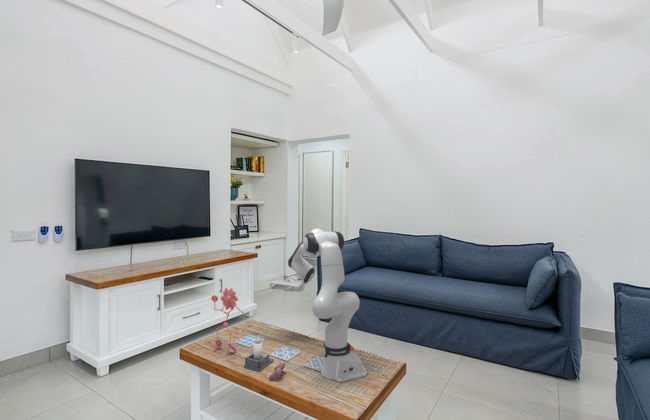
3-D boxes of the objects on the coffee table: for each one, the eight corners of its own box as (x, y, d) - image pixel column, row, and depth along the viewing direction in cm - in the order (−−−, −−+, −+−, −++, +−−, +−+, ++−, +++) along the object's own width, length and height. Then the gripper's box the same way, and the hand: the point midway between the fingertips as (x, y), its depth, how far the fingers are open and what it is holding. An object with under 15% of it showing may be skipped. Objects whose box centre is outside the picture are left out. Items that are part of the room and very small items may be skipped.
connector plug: (262, 360, 167) (262, 337, 168) (262, 364, 163) (262, 340, 163) (253, 361, 167) (253, 337, 167) (253, 365, 162) (253, 341, 163)
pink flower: (235, 360, 169) (237, 293, 170) (203, 348, 183) (204, 287, 183) (256, 350, 183) (257, 288, 183) (224, 339, 196) (225, 282, 196)
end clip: (258, 357, 173) (258, 348, 173) (273, 361, 169) (273, 352, 169) (243, 367, 163) (244, 358, 162) (259, 371, 158) (259, 362, 158)
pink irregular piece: (276, 384, 150) (282, 372, 150) (267, 379, 151) (274, 367, 150) (282, 373, 160) (288, 362, 159) (274, 369, 160) (280, 357, 160)
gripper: (277, 276, 201) (264, 281, 189) (306, 280, 193) (293, 285, 180) (277, 286, 202) (263, 292, 189) (305, 291, 193) (293, 296, 180)
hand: (278, 288), depth 185 cm, fingers open, 8 cm apart
